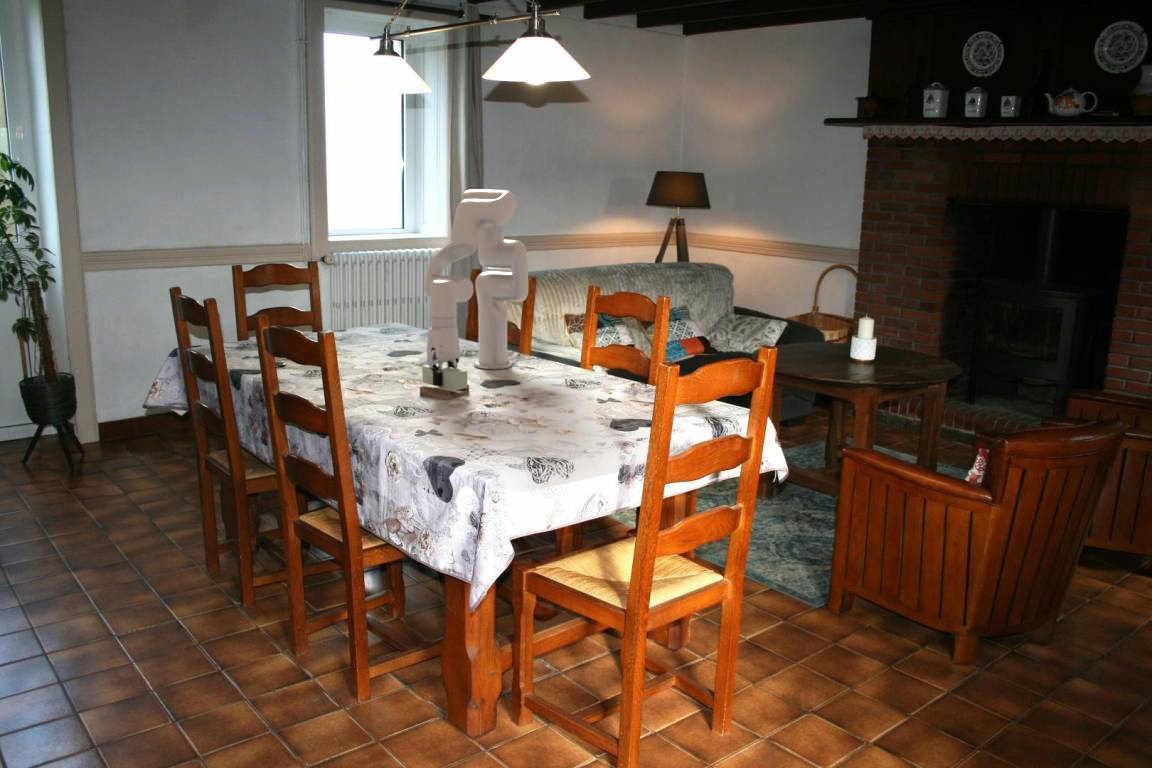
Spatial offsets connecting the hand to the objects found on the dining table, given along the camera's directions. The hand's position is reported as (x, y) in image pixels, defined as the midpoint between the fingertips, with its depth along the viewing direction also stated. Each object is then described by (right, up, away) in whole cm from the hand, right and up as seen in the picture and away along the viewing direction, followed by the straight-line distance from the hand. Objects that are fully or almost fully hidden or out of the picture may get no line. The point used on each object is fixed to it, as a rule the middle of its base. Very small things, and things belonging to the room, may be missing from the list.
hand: (444, 382), depth 290 cm
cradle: (0, -3, +1) cm, 3 cm away
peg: (0, -1, 0) cm, 1 cm away
